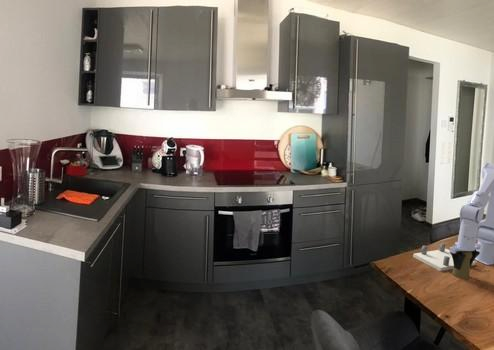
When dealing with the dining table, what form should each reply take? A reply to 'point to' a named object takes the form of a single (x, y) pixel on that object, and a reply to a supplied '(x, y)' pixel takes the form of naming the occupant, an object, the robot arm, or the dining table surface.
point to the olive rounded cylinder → (463, 267)
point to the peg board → (437, 258)
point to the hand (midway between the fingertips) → (461, 267)
